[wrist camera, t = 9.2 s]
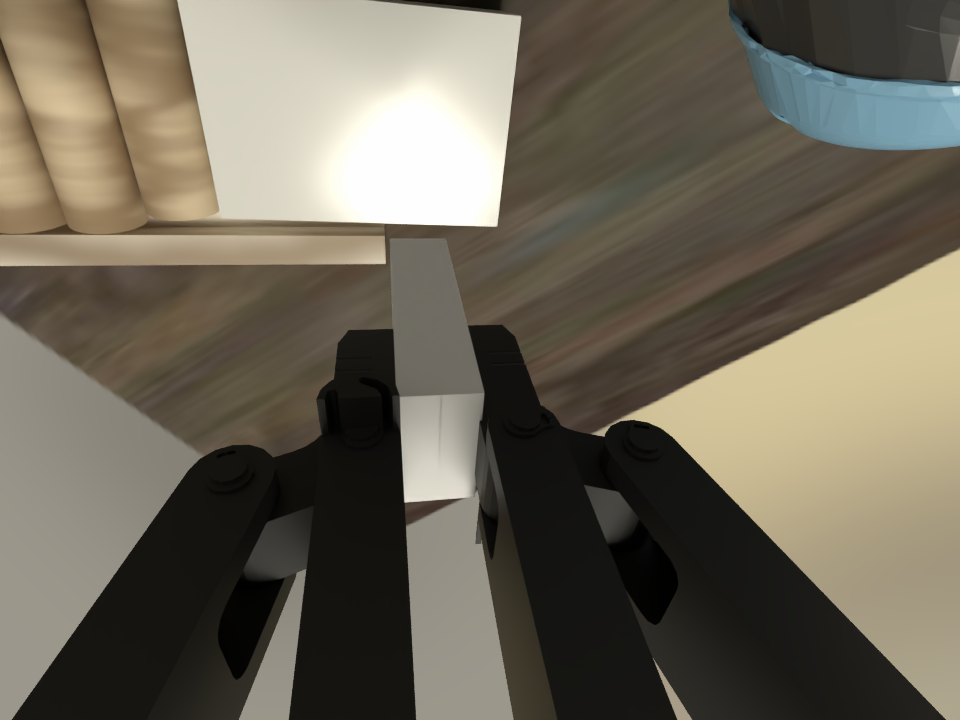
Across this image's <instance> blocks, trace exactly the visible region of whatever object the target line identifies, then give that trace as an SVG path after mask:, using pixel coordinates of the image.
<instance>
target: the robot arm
mask: <svg viewBox="0 0 960 720" xmlns="http://www.w3.org/2000/svg"><path fill="white" fill-rule="evenodd" d="M729 16H730V22H731V24H732V26H733V29H734V31H735V33H736V34H737V36H738V37H739V39H740V40H741V41H742V42H743V44H744V47H745V50H746V54H747V57H748V61H749V64H750V68H751V72H752V75H753V79H754V82H755V85H756V88H757V91H758V93H759V96H760V98H761V100H762V101H763V103H764V104H765V106H766V107H767V109H768V110H769V111H770V112H771V113H772V114H773V115H774V116H775V117H776V118H778V119H780V120H782V121H784V122H786V123H788V124H791V125H792V126H793V127H794V128H795V129H797V130H798V131H799V132H800V133H802V134H804V135H806V136H808V137H811V138H815V139H818V140H821V141H824V142H828V143H833V144H837V145H842V146H848V147H855V148H864V149H877V150H917V149H934V148H945V147H954V146H960V0H729ZM390 260H391V290H392V319H393V329H377V330H349V331H348V332H347V333H346V334H345V336H344V337H343V338H342V339H341V340H340V342H339V343H338V348H337V357H336V366H335V376H334V380H332V381H330V382H329V383H328V384H327V385H325V386H324V387H323V388H322V389H321V390H320V392H319V395H318V397H317V399H316V400H317V407H318V414H319V421H320V427H321V434H322V435H321V436H320V437H318V438H317V439H316V440H315V441H314V442H312V443H310V444H309V445H307V446H306V447H304V448H301V449H298V450H296V451H293V452H290V453H287V454H283V455H280V456H277V457H274V458H273V457H272V456H271V455H270V454H269V453H267V452H266V451H265V450H264V449H262V448H259V447H255V446H252V445H232V446H228V447H225V448H221V449H218V450H215V451H213V452H211V453H210V454H208V455H206V456H204V457H202V458H201V459H199V460H198V461H197V463H196V464H194V465H193V466H192V468H190V469H189V471H188V472H187V473H186V475H185V476H184V478H183V479H182V480H181V482H180V483H179V484H178V486H177V487H176V489H175V490H174V492H173V493H172V494H171V496H170V497H169V499H168V500H167V501H166V503H165V504H164V506H163V507H162V508H161V510H160V511H159V513H158V514H157V516H156V517H155V518H154V520H153V521H152V523H151V524H150V525H149V527H148V528H147V530H146V531H145V533H144V534H143V536H142V537H141V538H140V540H139V541H138V542H137V544H136V545H135V547H134V548H133V550H132V551H131V552H130V554H129V555H128V557H127V558H126V559H125V561H124V562H123V564H122V565H121V566H120V568H119V569H118V571H117V572H116V573H115V575H114V576H113V578H112V579H111V580H110V582H109V584H108V585H107V586H106V587H105V589H104V590H103V592H102V593H101V595H100V596H99V597H98V599H97V600H96V602H95V603H94V604H93V606H92V607H91V609H90V610H89V611H88V613H87V615H86V616H85V617H84V619H83V620H82V621H81V623H80V624H79V626H78V627H77V628H76V630H75V631H74V633H73V634H72V635H71V637H70V638H69V640H68V641H67V643H66V644H65V646H64V647H63V648H62V650H61V651H60V653H59V654H58V655H57V657H56V658H55V660H54V661H53V662H52V664H51V665H50V667H49V668H48V669H47V671H46V672H45V674H44V675H43V676H42V678H41V679H40V681H39V682H38V684H37V685H36V686H35V688H34V689H33V691H32V692H31V693H30V695H29V696H28V698H27V699H26V700H25V702H24V703H23V705H22V706H21V707H20V709H19V710H18V712H17V713H16V714H15V716H14V717H13V719H12V720H239V717H240V715H241V712H242V710H243V707H244V705H245V703H246V700H247V697H248V695H249V692H250V690H251V688H252V685H253V683H254V680H255V677H256V675H257V672H258V670H259V668H260V665H261V663H262V660H263V658H264V655H265V652H266V650H267V647H268V645H269V643H270V640H271V638H272V635H273V633H274V630H275V628H276V625H277V623H278V620H279V617H280V615H281V613H282V610H283V607H284V605H285V603H286V600H287V598H288V595H289V593H290V590H291V587H292V585H293V583H294V580H295V578H296V573H297V572H299V571H302V570H304V569H306V577H305V586H304V594H303V603H302V612H301V620H300V629H299V638H298V646H297V654H296V664H295V671H294V680H293V689H292V697H291V706H290V714H289V720H416V709H415V692H414V672H413V653H412V635H411V616H410V597H409V579H408V578H409V577H408V559H407V540H406V521H405V502H416V501H429V500H441V499H454V498H466V497H474V496H475V488H476V484H477V489H478V494H479V500H480V502H479V513H478V522H477V532H476V544H480V543H481V540H482V544H483V550H484V556H485V561H486V567H487V572H488V578H489V584H490V589H491V595H492V600H493V606H494V611H495V617H496V623H497V628H498V634H499V640H500V645H501V651H502V656H503V662H504V668H505V673H506V679H507V684H508V690H509V696H510V701H511V706H512V712H513V718H514V720H677V718H676V715H675V713H674V710H673V708H672V705H671V703H670V700H669V698H668V695H667V693H666V690H665V688H664V685H663V683H662V680H661V678H660V675H659V673H658V670H657V668H656V665H655V662H656V663H657V665H658V666H659V668H660V669H661V671H662V673H663V674H664V676H665V677H666V679H667V680H668V682H669V684H670V685H671V687H672V688H673V690H674V691H675V693H676V695H677V696H678V698H679V699H680V701H681V703H682V704H683V705H684V707H685V709H686V710H687V712H688V714H689V715H690V717H691V718H692V720H946V719H945V718H944V717H943V716H942V715H941V714H940V713H939V712H938V711H937V710H936V709H935V708H934V707H933V706H932V705H931V704H930V703H929V702H928V701H927V700H926V699H925V698H924V697H923V696H922V695H921V694H920V692H919V691H918V690H917V689H916V688H915V687H913V685H912V684H911V683H910V682H909V681H908V680H907V679H906V678H905V677H904V676H903V675H902V674H901V673H900V672H899V671H898V670H897V669H896V668H895V667H894V666H893V665H892V664H891V663H890V661H888V659H887V658H886V657H885V656H883V654H882V653H881V652H880V651H879V650H878V649H877V648H876V647H875V646H874V645H873V644H872V643H871V642H870V641H869V640H868V639H867V638H866V637H865V636H864V635H863V634H862V633H861V632H860V631H859V630H858V628H857V627H856V626H855V625H854V624H853V623H852V622H851V621H850V620H849V619H848V618H847V617H846V616H845V615H844V614H843V613H842V612H841V611H840V610H839V609H838V608H837V607H836V606H835V605H834V604H833V603H832V602H831V601H830V600H829V599H828V598H827V596H826V595H825V594H824V593H823V592H822V591H821V590H820V589H819V588H818V587H817V586H816V585H815V584H814V583H813V582H812V581H811V580H810V579H809V578H808V577H807V576H806V575H805V574H804V573H803V572H802V571H801V570H800V569H799V568H798V567H797V565H796V564H795V563H794V562H793V561H792V560H791V559H790V558H789V557H788V556H787V555H786V554H785V553H784V552H783V551H782V550H781V549H780V548H779V547H778V546H777V545H776V544H775V543H774V542H773V541H772V540H771V539H770V538H769V536H767V534H766V533H765V532H763V530H762V529H761V528H760V527H759V526H758V525H757V524H756V523H755V522H754V521H753V520H752V519H751V518H750V517H749V516H748V515H747V514H746V513H745V512H744V511H743V510H742V509H741V508H740V507H739V505H738V504H736V503H735V501H734V500H733V499H732V498H731V497H730V496H729V495H728V494H727V493H726V492H725V491H724V490H723V489H722V488H721V487H720V486H719V485H718V484H717V483H716V482H715V481H714V480H713V479H712V478H711V477H710V476H709V475H708V473H706V472H705V470H704V469H703V468H702V467H701V466H700V465H699V464H698V463H697V462H696V461H695V460H694V459H693V458H692V457H691V456H690V455H689V454H688V453H687V452H686V451H685V450H684V449H683V448H682V447H681V446H680V445H679V444H678V442H677V441H675V439H674V438H673V437H671V436H670V435H669V434H668V433H666V432H665V431H664V430H662V429H661V428H659V427H657V426H654V425H652V424H650V423H647V422H641V421H635V420H630V421H620V422H618V423H616V424H614V425H612V426H610V428H609V429H608V431H607V432H606V434H605V437H603V436H597V435H592V434H586V433H581V432H577V431H573V430H569V429H567V428H565V427H563V426H560V423H559V421H558V420H557V419H556V417H555V416H554V414H553V413H552V412H550V411H549V410H547V409H546V408H545V407H543V406H541V405H540V402H539V400H538V397H537V394H536V392H535V389H534V386H533V384H532V381H531V378H530V376H529V373H528V370H527V368H526V365H524V360H523V357H522V354H521V353H520V349H519V346H518V344H517V341H516V338H515V336H514V335H513V334H511V333H510V332H509V331H508V330H507V329H506V328H505V327H504V326H503V325H475V326H468V325H467V321H466V317H465V313H464V309H463V305H462V301H461V297H460V293H459V289H458V285H457V282H456V278H455V274H454V270H453V266H452V262H451V258H450V254H449V250H448V246H447V242H446V239H390ZM653 658H654V660H655V662H654V660H653Z"/></svg>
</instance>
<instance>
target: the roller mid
mask: <svg viewBox="0 0 960 720" xmlns="http://www.w3.org/2000/svg"><path fill="white" fill-rule="evenodd" d="M0 38H1V41H2V44H3V46H4V49H5V52H6V55H7V58H8V60H9V63H10V66H11V69H12V71H13V74H14V77H15V80H16V83H17V85H18V88H19V91H20V94H21V96H22V99H23V102H24V105H25V107H26V110H27V113H28V116H29V119H30V121H31V124H32V127H33V130H34V132H35V135H36V138H37V141H38V144H39V146H40V149H41V152H42V155H43V157H44V160H45V163H46V166H47V169H48V171H49V174H50V177H51V180H52V182H53V185H54V188H55V191H56V194H57V196H58V199H59V202H60V205H61V207H62V210H63V213H64V216H65V219H66V221H67V224H68V226H69V228H71V229H72V230H74V231H77V232H81V233H87V234H112V233H120V232H125V231H129V230H133V229H136V228H138V227H141V226H142V225H144V224H145V223H147V221H148V220H149V217H148V214H147V213H146V211H145V207H144V204H143V200H142V197H141V193H140V190H139V186H138V183H137V179H136V176H135V172H134V169H133V165H132V162H131V158H130V155H129V151H128V148H127V144H126V141H125V137H124V134H123V130H122V127H121V123H120V120H119V116H118V113H117V109H116V106H115V102H114V99H113V95H112V92H111V88H110V85H109V81H108V78H107V74H106V71H105V67H104V64H103V60H102V57H101V53H100V50H99V46H98V43H97V39H96V36H95V32H94V29H93V25H92V22H91V18H90V15H89V12H88V8H87V5H86V1H85V0H0Z"/></svg>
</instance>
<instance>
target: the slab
mask: <svg viewBox="0 0 960 720" xmlns="http://www.w3.org/2000/svg"><path fill="white" fill-rule="evenodd" d="M177 2H178V7H179V12H180V16H181V21H182V26H183V31H184V36H185V41H186V46H187V51H188V56H189V61H190V66H191V71H192V76H193V81H194V86H195V91H196V96H197V101H198V106H199V111H200V116H201V121H202V126H203V131H204V135H205V140H206V145H207V150H208V155H209V160H210V165H211V170H212V175H213V180H214V185H215V190H216V195H217V200H218V205H219V210H220V215H221V218H223V219H257V220H291V221H325V222H359V223H394V224H428V225H462V226H496V227H497V222H498V214H499V205H500V196H501V188H502V179H503V170H504V162H505V153H506V144H507V136H508V127H509V118H510V110H511V101H512V93H513V84H514V75H515V67H516V58H517V49H518V41H519V32H520V23H521V16H519V15H516V14H513V13H510V12H507V11H498V10H489V9H479V8H470V7H460V6H450V5H441V4H431V3H422V2H412V1H402V0H177Z"/></svg>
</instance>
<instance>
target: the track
mask: <svg viewBox="0 0 960 720" xmlns="http://www.w3.org/2000/svg"><path fill="white" fill-rule="evenodd" d="M148 217H149V220H148V221H147V223H145V224H144V225H142V226H141V227H138V228H136V229H133V230H129V231H125V232H120V233H112V234H87V233H81V232H77V231H74V230H72V229H71V228H69V226H68V224H64V225H62V226H59V227H57V228H53V229H49V230H45V231H40V232H34V233H24V234H5V233H0V266H73V265H259V264H386V257H385V229H384V223H359V222H325V221H291V220H257V219H223V218H221V215H220V211H219V212H217V213H216V214H214V215H211V216H208V217H205V218H201V219H195V220H187V221H168V220H161V219H156V218H153V217H151V216H149V215H148Z"/></svg>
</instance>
